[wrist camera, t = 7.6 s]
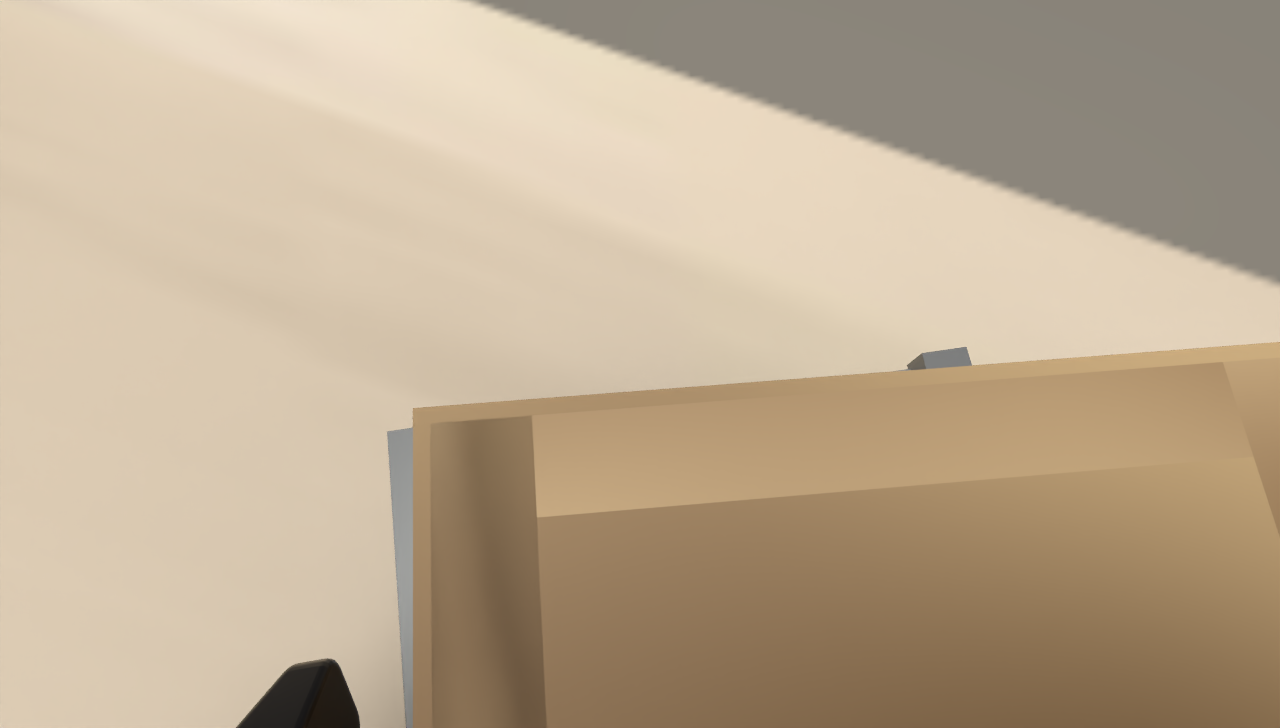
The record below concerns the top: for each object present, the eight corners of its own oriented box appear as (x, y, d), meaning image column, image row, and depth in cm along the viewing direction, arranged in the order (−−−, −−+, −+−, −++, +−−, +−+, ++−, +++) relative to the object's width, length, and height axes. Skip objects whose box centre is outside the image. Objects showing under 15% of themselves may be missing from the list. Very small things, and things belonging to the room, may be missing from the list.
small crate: (872, 823, 15) (1798, 1630, 3) (575, 855, 14) (410, 1880, 3) (826, 522, 16) (1323, 338, 5) (558, 545, 16) (412, 407, 5)
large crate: (993, 893, 15) (1170, 1030, 10) (496, 993, 14) (435, 1194, 10) (872, 415, 18) (966, 347, 13) (451, 478, 17) (387, 431, 12)
